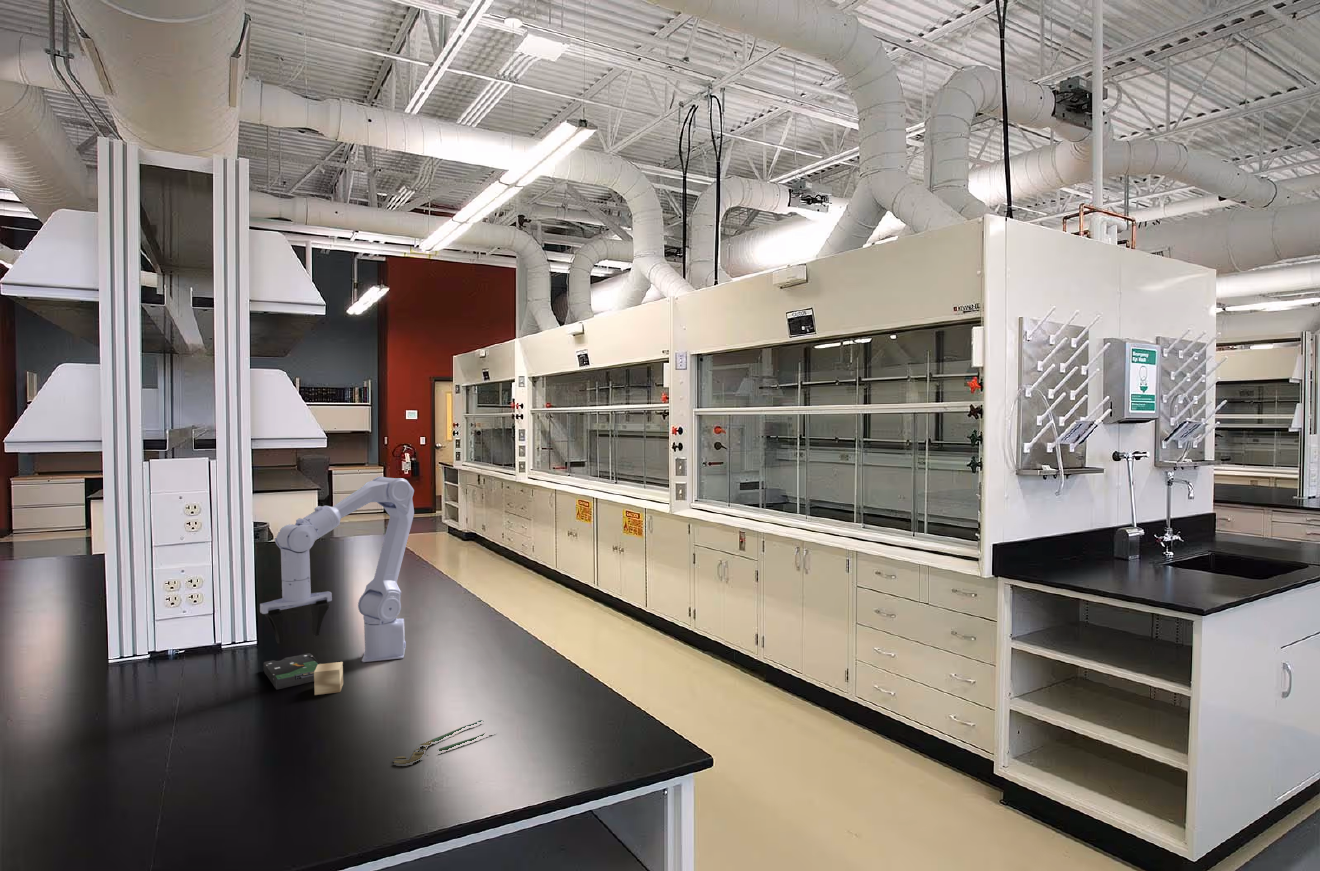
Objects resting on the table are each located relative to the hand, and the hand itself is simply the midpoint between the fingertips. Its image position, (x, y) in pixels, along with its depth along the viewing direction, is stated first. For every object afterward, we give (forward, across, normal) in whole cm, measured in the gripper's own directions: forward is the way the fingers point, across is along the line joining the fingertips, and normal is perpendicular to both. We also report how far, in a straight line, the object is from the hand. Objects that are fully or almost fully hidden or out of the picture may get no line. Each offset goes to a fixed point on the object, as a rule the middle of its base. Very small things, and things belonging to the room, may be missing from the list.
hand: (298, 638), depth 161 cm
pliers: (+10, -7, +52) cm, 53 cm away
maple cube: (+10, -3, +10) cm, 14 cm away
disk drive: (+10, -1, -5) cm, 12 cm away
